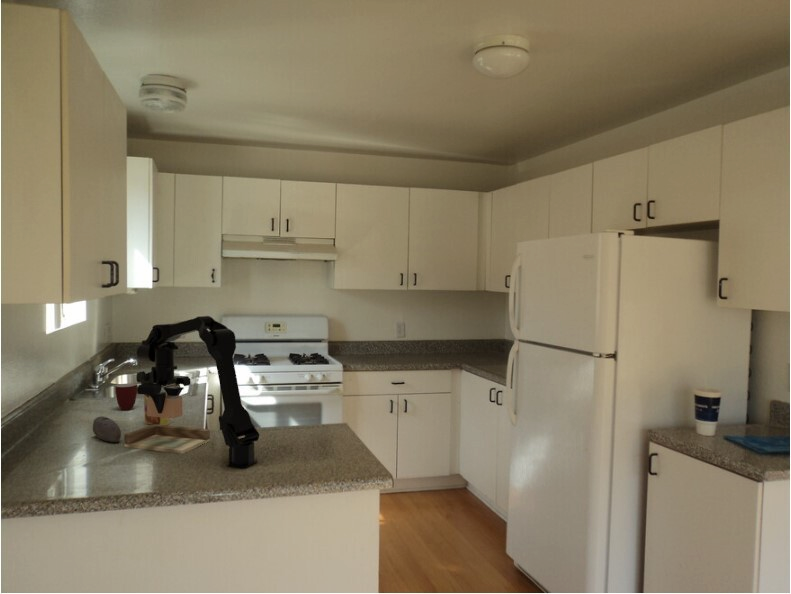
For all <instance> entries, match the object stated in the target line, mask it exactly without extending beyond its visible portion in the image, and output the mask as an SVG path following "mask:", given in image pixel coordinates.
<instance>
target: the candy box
mask: <svg viewBox="0 0 791 594" xmlns="http://www.w3.org/2000/svg"><path fill="white" fill-rule="evenodd" d="M154 384H156V383H154ZM162 386H163V385H162ZM163 392H165V393H166V391H165V390H164V388H163ZM166 395H167V393H166ZM147 397H150V396H149V395H144V394H143V404H144V405H143V407H144V412H143V413H144V424H145V425H149V426H151V425H154V424H158V425H168V426H170V418H163V417H153V416H147Z"/></svg>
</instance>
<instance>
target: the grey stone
mask: <svg viewBox="0 0 791 594" xmlns="http://www.w3.org/2000/svg"><path fill="white" fill-rule="evenodd" d="M92 432H93V434H94V435H95V436H96V437H98V439H100V440H104V441H107V442H111V443H116V442H119V440H120V439H121V436H122V430H121V428H120V425H118V423H116V422H115V421H114V419H111V418H110V417H107V416H97V417H96V418H95V419H94V420H93V424H92Z"/></svg>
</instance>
